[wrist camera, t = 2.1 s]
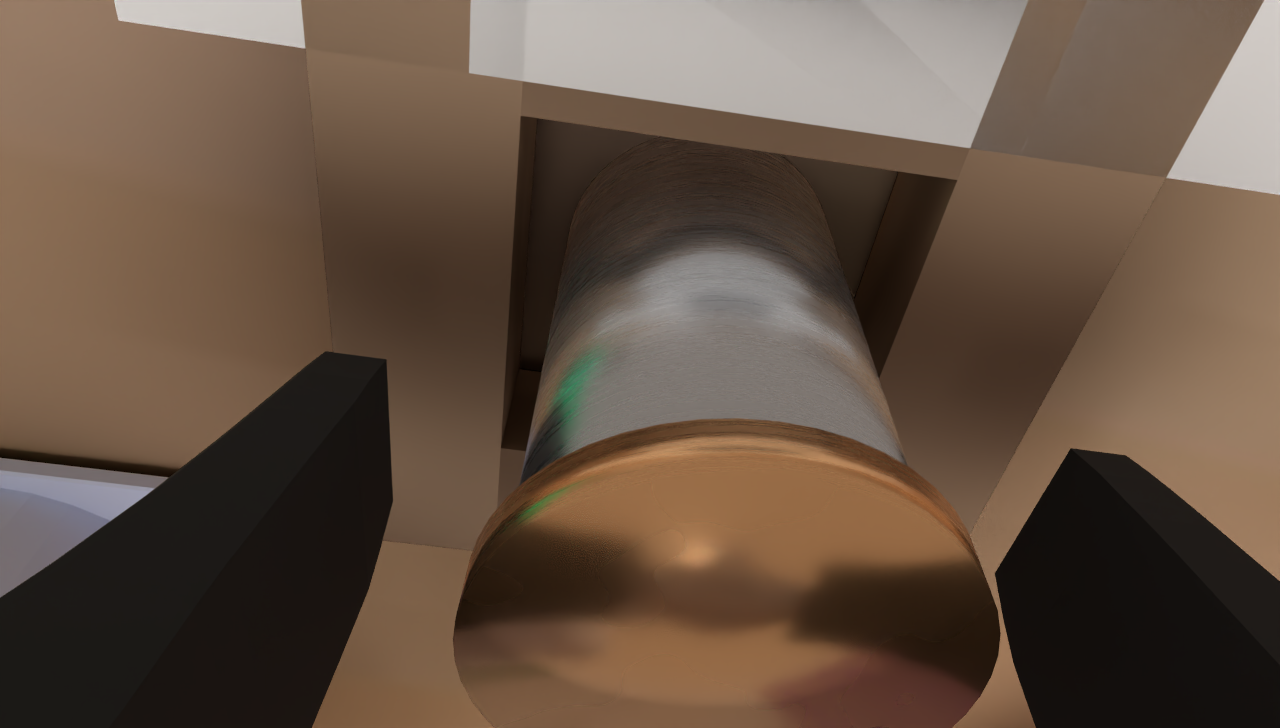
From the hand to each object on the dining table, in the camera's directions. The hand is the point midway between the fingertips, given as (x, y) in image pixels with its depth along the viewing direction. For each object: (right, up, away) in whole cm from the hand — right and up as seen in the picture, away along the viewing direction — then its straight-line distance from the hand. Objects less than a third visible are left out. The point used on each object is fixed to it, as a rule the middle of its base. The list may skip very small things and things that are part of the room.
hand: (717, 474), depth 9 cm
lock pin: (0, +3, +4) cm, 5 cm away
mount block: (0, +3, +4) cm, 5 cm away
